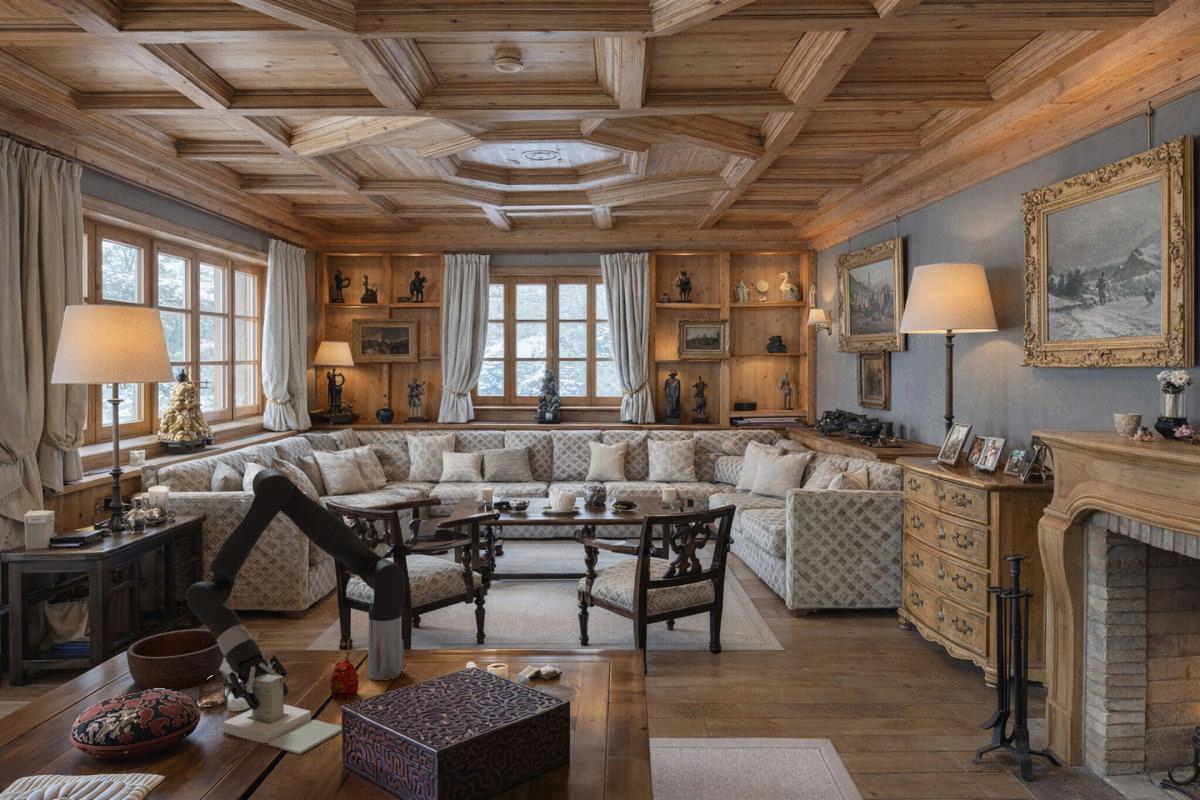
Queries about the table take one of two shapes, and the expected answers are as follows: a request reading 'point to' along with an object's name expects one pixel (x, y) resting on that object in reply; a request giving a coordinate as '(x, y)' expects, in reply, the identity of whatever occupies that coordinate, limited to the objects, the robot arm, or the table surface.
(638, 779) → the table surface
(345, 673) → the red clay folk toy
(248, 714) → the holder block
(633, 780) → the table surface
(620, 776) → the table surface
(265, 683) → the skincare box
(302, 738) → the green tile
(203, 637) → the wooden bowl
